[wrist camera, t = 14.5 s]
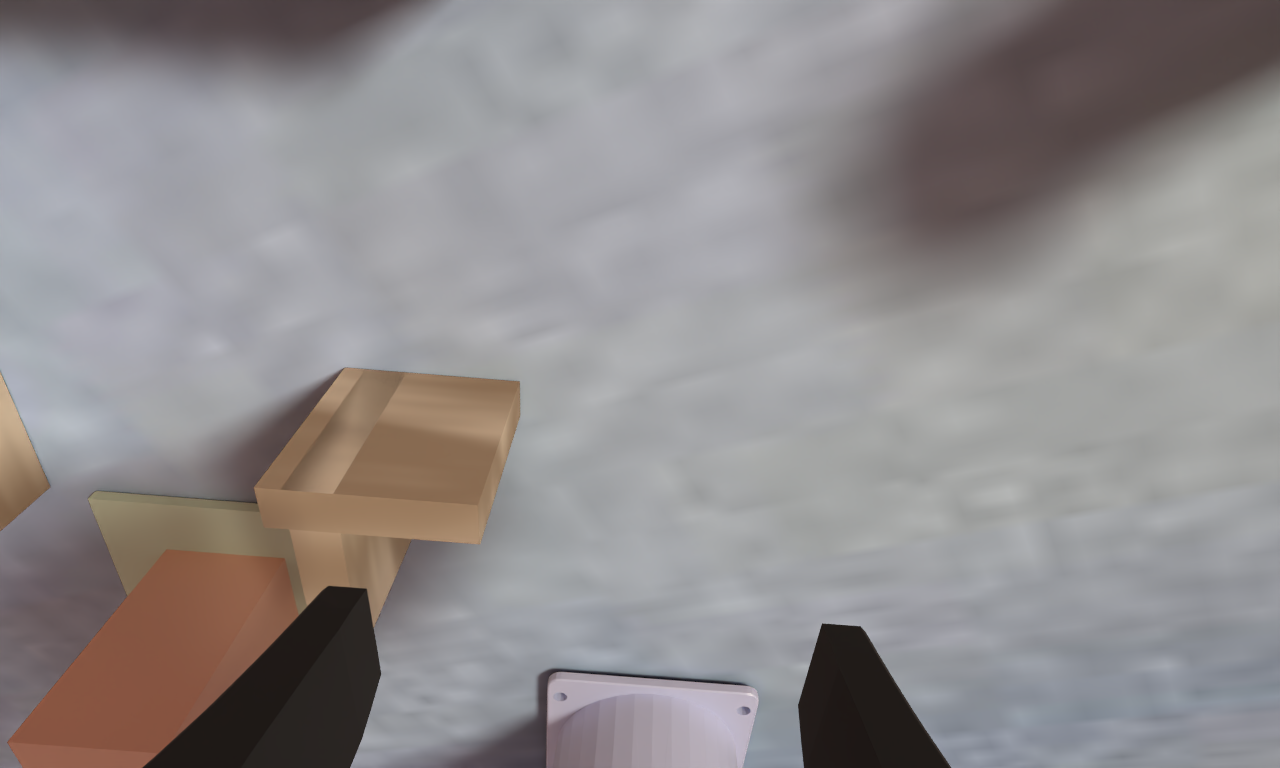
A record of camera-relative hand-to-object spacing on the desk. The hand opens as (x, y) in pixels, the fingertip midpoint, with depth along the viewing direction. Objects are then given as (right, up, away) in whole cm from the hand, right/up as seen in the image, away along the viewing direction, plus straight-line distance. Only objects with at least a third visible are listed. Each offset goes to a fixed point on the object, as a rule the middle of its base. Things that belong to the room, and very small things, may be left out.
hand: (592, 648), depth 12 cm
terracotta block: (-13, -3, +14) cm, 20 cm away
